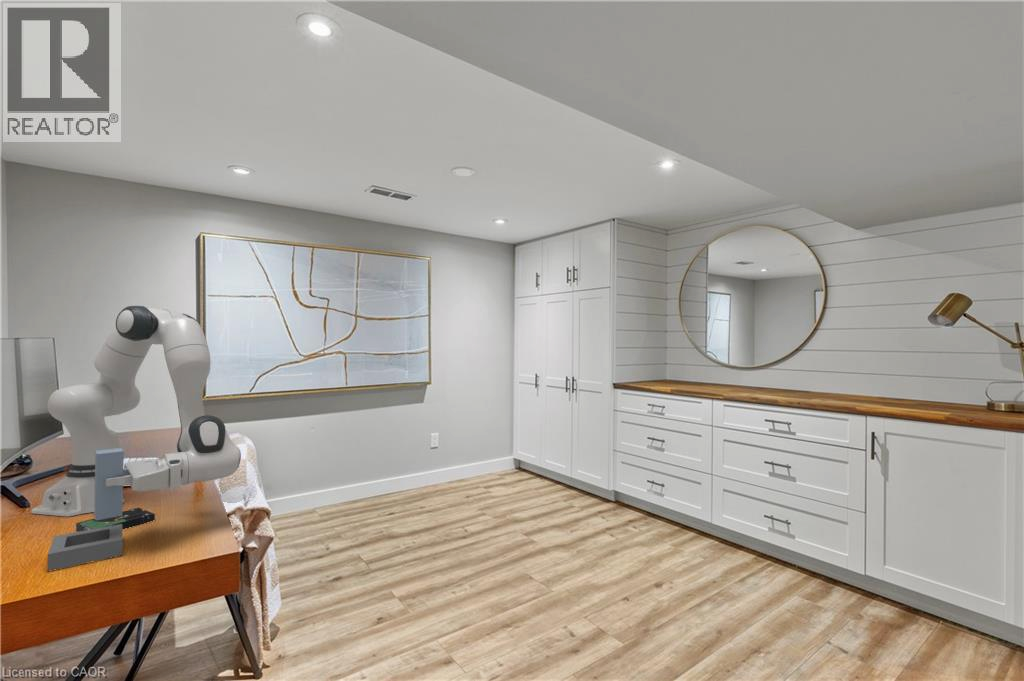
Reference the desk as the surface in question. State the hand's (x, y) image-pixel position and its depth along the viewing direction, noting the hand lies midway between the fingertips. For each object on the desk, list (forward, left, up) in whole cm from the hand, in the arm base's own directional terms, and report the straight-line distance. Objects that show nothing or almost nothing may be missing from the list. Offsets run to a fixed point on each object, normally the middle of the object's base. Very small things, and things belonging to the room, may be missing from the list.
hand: (104, 479), depth 117 cm
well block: (-3, -1, -18) cm, 18 cm away
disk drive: (-11, +17, -19) cm, 28 cm away
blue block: (+1, +1, -9) cm, 9 cm away
